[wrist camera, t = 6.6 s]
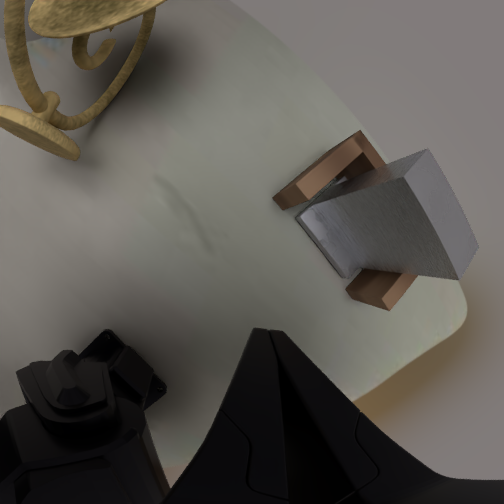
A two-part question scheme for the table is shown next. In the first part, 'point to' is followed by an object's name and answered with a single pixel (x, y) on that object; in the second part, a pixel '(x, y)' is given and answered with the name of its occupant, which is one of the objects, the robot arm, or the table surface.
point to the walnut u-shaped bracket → (349, 165)
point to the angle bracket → (393, 221)
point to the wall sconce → (80, 27)
